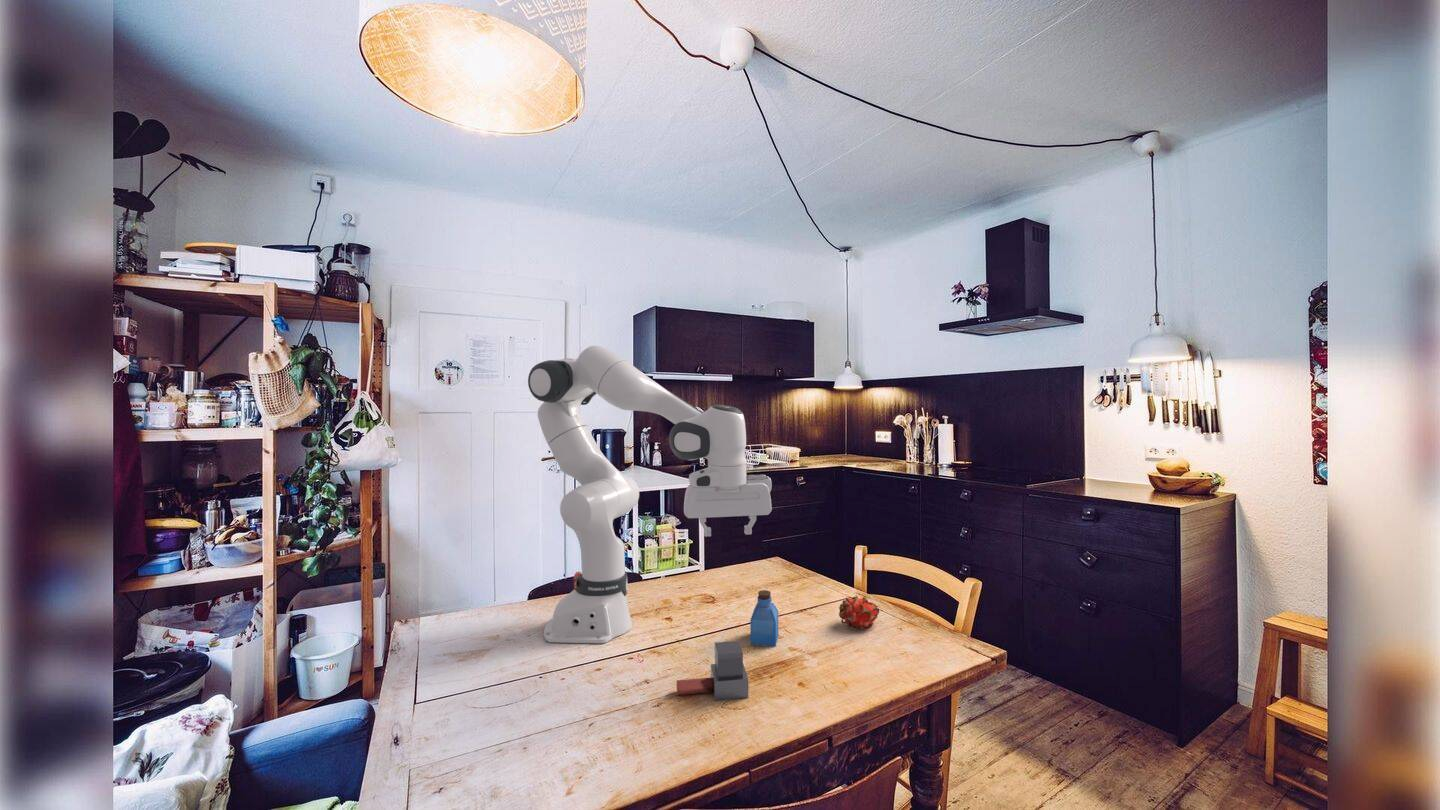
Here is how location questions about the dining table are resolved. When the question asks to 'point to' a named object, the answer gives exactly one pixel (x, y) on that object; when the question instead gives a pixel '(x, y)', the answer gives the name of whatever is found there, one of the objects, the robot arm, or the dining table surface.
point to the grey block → (728, 659)
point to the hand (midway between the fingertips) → (727, 534)
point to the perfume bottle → (764, 621)
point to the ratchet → (716, 686)
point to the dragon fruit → (858, 612)
